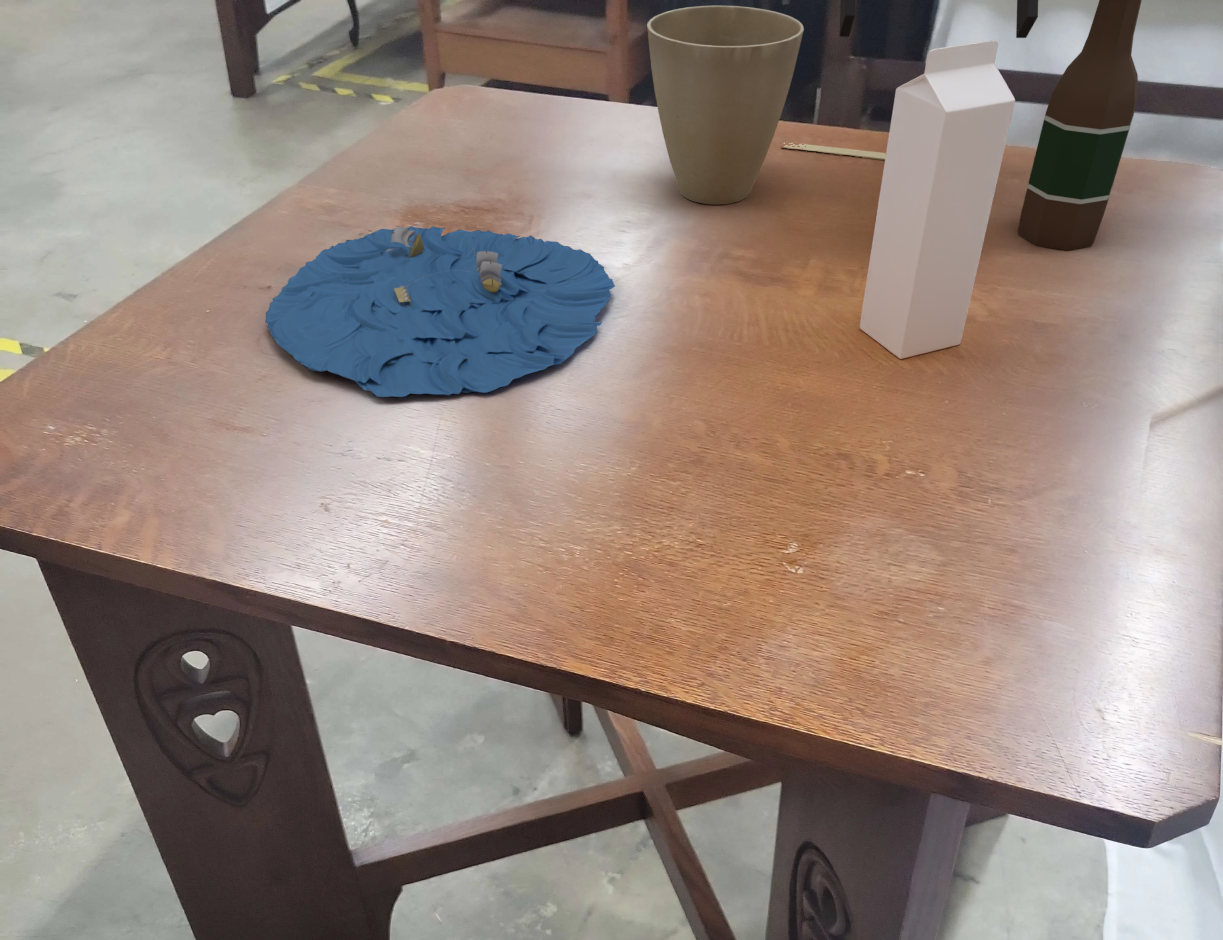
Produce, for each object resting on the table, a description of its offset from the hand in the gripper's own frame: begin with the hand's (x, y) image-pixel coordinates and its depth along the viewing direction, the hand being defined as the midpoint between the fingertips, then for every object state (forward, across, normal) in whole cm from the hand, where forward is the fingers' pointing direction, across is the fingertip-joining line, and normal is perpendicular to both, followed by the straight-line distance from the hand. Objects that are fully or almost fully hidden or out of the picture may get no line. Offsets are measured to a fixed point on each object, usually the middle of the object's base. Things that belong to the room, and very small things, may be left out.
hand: (936, 27), depth 82 cm
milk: (+22, 0, -8) cm, 23 cm away
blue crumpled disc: (+20, +39, -10) cm, 45 cm away
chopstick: (-8, -3, -37) cm, 38 cm away
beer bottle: (+7, -17, -23) cm, 29 cm away
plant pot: (0, +16, -30) cm, 34 cm away
